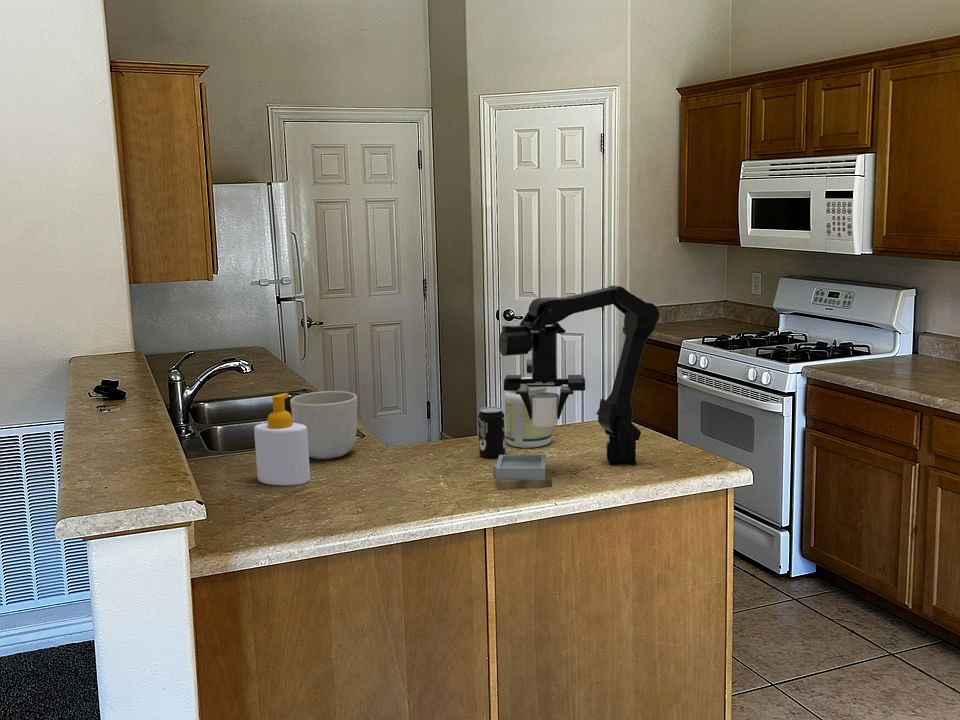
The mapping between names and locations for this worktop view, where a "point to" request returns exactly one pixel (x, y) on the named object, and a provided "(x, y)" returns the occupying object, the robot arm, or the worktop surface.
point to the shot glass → (544, 409)
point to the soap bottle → (281, 448)
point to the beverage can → (491, 432)
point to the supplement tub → (523, 422)
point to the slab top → (521, 467)
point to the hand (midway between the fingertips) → (544, 419)
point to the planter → (327, 421)
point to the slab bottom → (523, 483)
